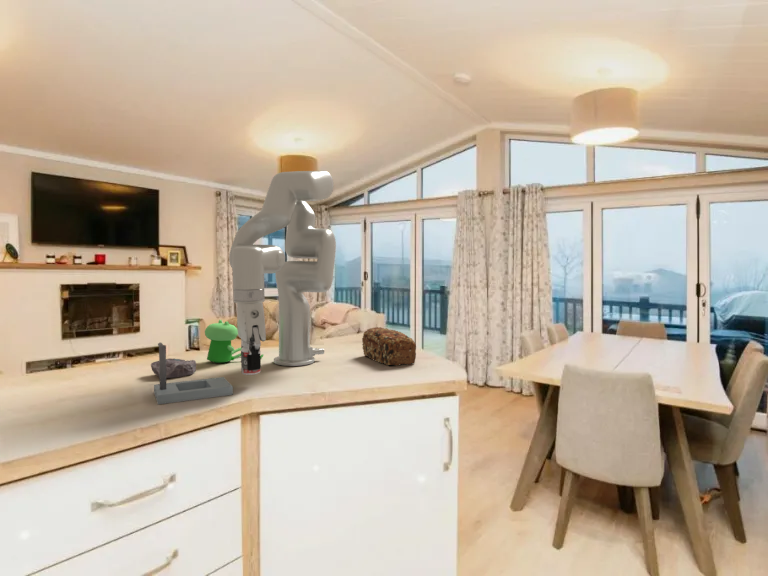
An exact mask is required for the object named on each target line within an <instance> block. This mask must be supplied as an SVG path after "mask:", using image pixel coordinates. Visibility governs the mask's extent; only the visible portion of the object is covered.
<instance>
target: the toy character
mask: <svg viewBox="0 0 768 576" xmlns="http://www.w3.org/2000/svg"><path fill="white" fill-rule="evenodd" d="M204 335H205V336H206V338H207V339H208V340H210V342H209V348H208V353H207V356H206V357H207V358H206V361H209V362H212V363H216V364H224V363H228V362H231V361H234V360H236V359H238V358H241V347H238V348H236V349H235V348H234V347H233V346H232V341H233V340H235V339H237V337H238V330H237V326H235V325H234V324H231V323H229V321H224V322H223V320H222V319H219V320H218V322H214V323H211V324H209V325H208V326H207V327H206V328H205V330H204ZM237 352H240V353H238V354H236V353H237ZM234 354H236V355H234ZM263 357H264V354H260V359H261V360H262V358H263Z"/></svg>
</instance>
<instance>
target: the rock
mask: <svg viewBox="0 0 768 576" xmlns="http://www.w3.org/2000/svg"><path fill="white" fill-rule="evenodd" d="M150 368H151V371H152V372H153V374H154V375H155V376H156V375H157V377H159V360H156V361H153V362H151V364H150ZM196 369H197V362H196V360H194V359H190V360H186V359H182V358H181V359H180V358H166V379H174V378H182V377H187V375H188V376H192V375H193V374H194V373H195V372H196Z"/></svg>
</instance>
